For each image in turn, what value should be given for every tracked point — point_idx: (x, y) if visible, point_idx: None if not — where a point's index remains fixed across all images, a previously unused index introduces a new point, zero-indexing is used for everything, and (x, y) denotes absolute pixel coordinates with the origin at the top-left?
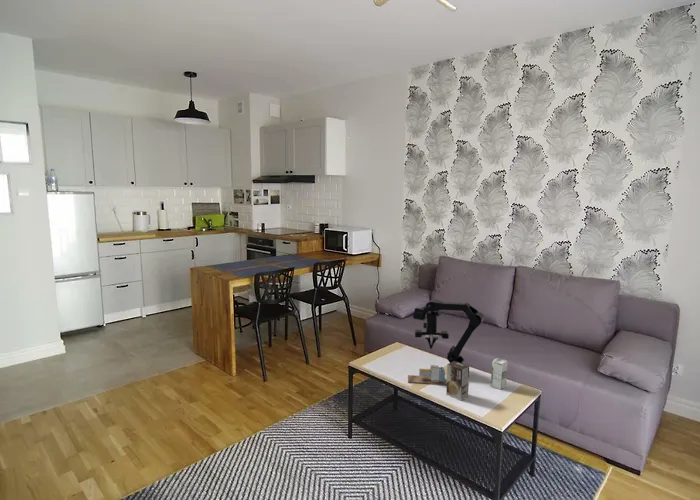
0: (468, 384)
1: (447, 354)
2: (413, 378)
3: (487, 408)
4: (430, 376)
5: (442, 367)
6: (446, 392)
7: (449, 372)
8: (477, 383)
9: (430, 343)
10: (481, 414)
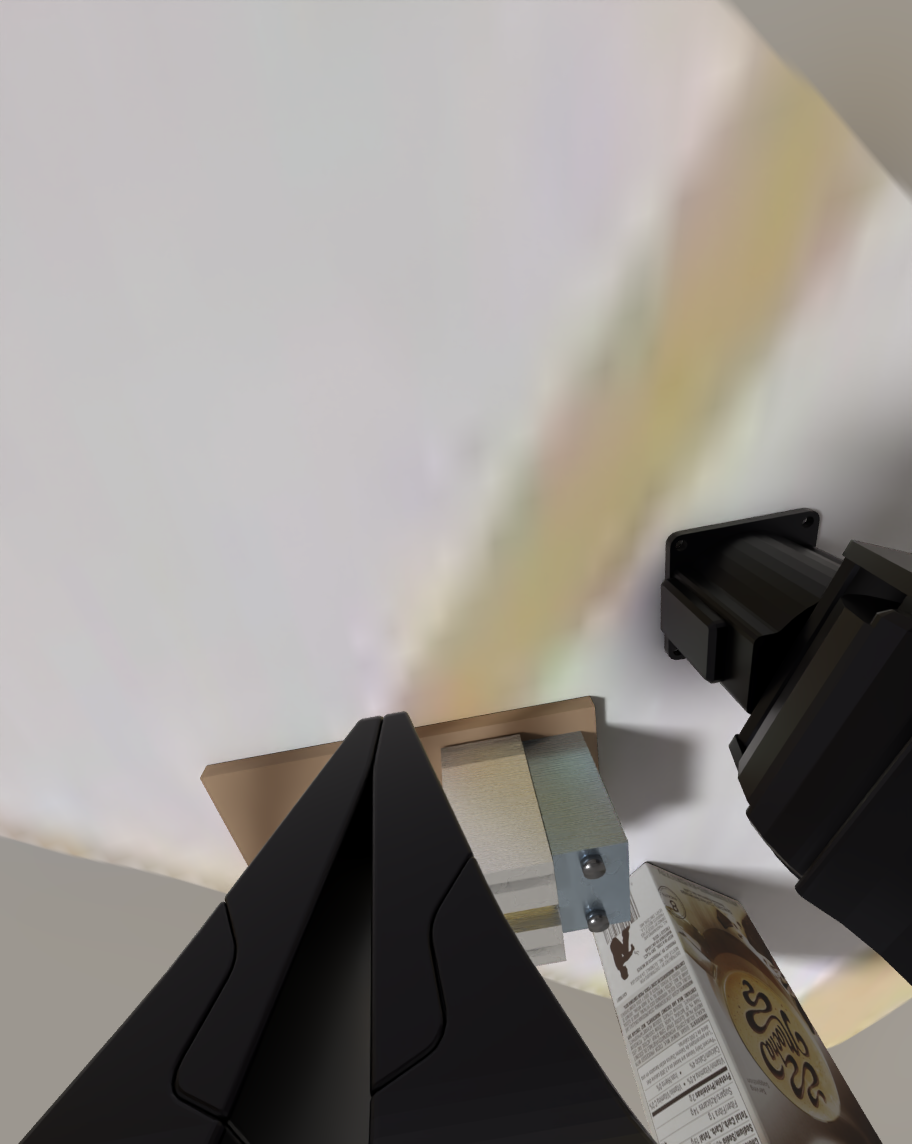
0: (810, 1025)
1: (805, 887)
2: (283, 819)
3: (823, 964)
4: None
5: (608, 846)
6: (593, 933)
7: None
8: None
9: (369, 1076)
10: None
